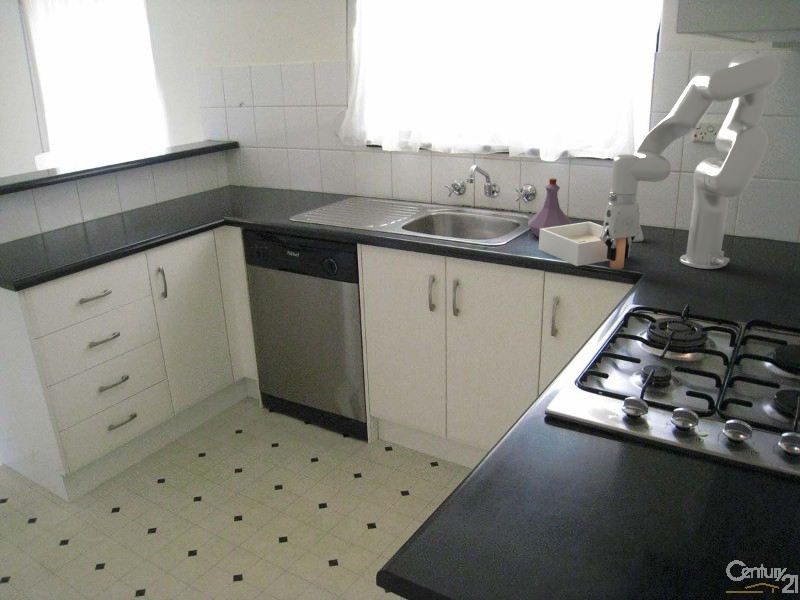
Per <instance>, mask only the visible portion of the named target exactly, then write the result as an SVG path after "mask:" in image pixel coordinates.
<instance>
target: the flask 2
mask: <svg viewBox="0 0 800 600" xmlns="http://www.w3.org/2000/svg"><path fill="white" fill-rule="evenodd" d="M641 212H642V211H641V210H639V213H640V214H641ZM644 240H645V238H644V234H643V231H642V227H641V223H640V221H639V234H638V235H637V236H636V237H635V238H634V240H633V241H632V243H633V242H635V243H636V242H643V241H644Z"/></svg>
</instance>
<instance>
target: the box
mask: <svg viewBox="0 0 800 600" xmlns="http://www.w3.org/2000/svg"><path fill="white" fill-rule="evenodd" d="M602 232H603V225H600V224H598V223H594V222H592V221H584V222H577V223H576V222H575V223H572V224H569V225H562V226H555V227H549V228H542V229H540V232H539V237H538V250H539V251H541V252H543V253H545V254H548V255H550V256H552V257H554V258H558V260H559V259H560V260H561V261H564V262H566V263H568V264H571V265H573V266H575V267H580V266H585V265H586V266H587V265H590V264H592V265H593V264H597V263H602V262H608V261H609V262H610V260H609V259H607V249H608V246H606V244H605V243H604V242H603V241H602V240H600V239H599V237H600V236H601V234H602ZM607 238H608V236H607ZM611 242H612V239H611ZM630 249H631V245H630V246H629V251H630ZM629 257H630V254H629V255H628V258H629Z"/></svg>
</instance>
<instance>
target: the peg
mask: <svg viewBox="0 0 800 600" xmlns="http://www.w3.org/2000/svg"><path fill="white" fill-rule="evenodd" d="M625 247H626V238H620V239H617V241H616V245H615V248H616V260H615V261H612V260H609V268H611V269H614V270H622V269H624V265H625V258H624V257H625Z"/></svg>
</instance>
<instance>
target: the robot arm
mask: <svg viewBox="0 0 800 600" xmlns="http://www.w3.org/2000/svg"><path fill="white" fill-rule="evenodd" d="M781 72H782V65H781V62H780V61H779V59H778V58H777V57H775V56H774V55H771V54H765V53H763V54H762V53H761V54H760V53H744V54H743V53H742V54H740V55H739V54H738V55H736V56H735V57H733V58H732V59H731V61H729V64H728V66H727V67H724V68H719V67H706V68H702V69H700V70H698V71H697V72H696V73H695V74H694V76H693V77H692V78H691V79H690V81H689V83H688V84H687V85H686V87H685V89H684V91H683V92H682V94H681V95H680V96H679V98H678V99H677V101H676V102H675V104H674V105H673V107H672V109H671V110H670V111H669V113H668V114H667V115H666V117H664V118H663V119H662V120H661V121H660V122H658V124H657V125H656V126H654V127H653V128H652V129H651V130H650V131H648V133H646V135H645V136H644V138H643V139H642V140H641V142H640V144H639V145H638V147H637V149H636V150H635V151H634V152H633V153H634V154H617V155H616V156H614V158H613V160H612V170H611V178H610V179H611V180H610V181H611V182H610V192H609V195H608V197H607V200H608V202H607V206H606V208H605V213H604V219H603V225H602V226H603V232H602V234H601V236H600V237H599V239H600V240H602V241H603V242H604V243H605V244H606V246H608V249H607V259H609V261H610V260H612V261H615V260H616V248H615V245H616V241H617V239H620V238H626V247H625V257H624V260H626V259H629V257H628V255H629V256H630V250H629V246H630V247H631V245H632V243H633V242H632V241H633V240H634V238H635V237H636V236H637V235H638V234H639V222H640V219H641V218H640V215H641V212H640V213H639V211H640V205H639V202H638V191H639V183H640V182H647V183H648V182H650V183H658V182H663V181H664V180H666V179H667V178H668V177H669V176H670V174H671V172H672V165H671V163H670V160H669V159H668V158H666V157H665V156H663V155H662V154H663V153H664V152H665V150H666V149H668V147H669V146H670V145H671V144H673V142H674V141H676V140H678V139H680V138H682V137H685V136H688V135H689V134H690V133H692V132H694V131H695V130H696V129H697V128H698V127H699V125H700V124H701V122H702V121H703V119H704V117H705V116H706V114H708V111H709V110H710V108H711V107H712V106H713V104H714V103H715V102H717V103H723V102H728V101H731V100H732V103H731V106H730V108H729V111H728V112H727V114H726V116H725V118H724V120H723V121H722V122H723V123H722V124H721V126H720V128H719V130H718V132H717V134H716V137H715V140H714V144H715V145H714V146H715V148H716V149H717V150H718V152H720V153H722V154H723V155H726V158H721V157H717V156H713V157H707V158H704V159H703V160H701V161H700V162H699V163H698V164H697V166H696V167H695V169H694V172H693V177H692V178H693V202H692V209H691V215H690V224H689V229H688V238H687V239H688V240H687V245H686V253H685V254H683V255H681V256H680V257H679V262H680V263H681V264H683V266H687V267H691V268H696V269H704V270H714V269H715V270H716V269H720V268H724V267H725V266H728V263H730V261H731V259H730V258H729V257H726V256H724V255H725V251H724V250H722V248H723V241H724V237H725V236H724V235H725V229H726V222H727V216H728V210H729V198H734V197H737V196H739V195H741V194H743V192H744V191H745V190H746V189H747V188H748V186H749V185H750V184H751V181H752V179H753V178H754V175H755V173H756V171H757V170H758V168H759V166H760V165H761V164H760V163H761V162H762V161H763V158H764V156H765V154H766V152H767V149H768V145H769V137H768V134H767V131H766V130H765V129H764V128H763V127H761V126H760V125H759V122H760V121H761V119H762V116H763V114H764V112H765V110H766V106H767V102H768V100H767V99H768V98H767V97H768V96H767V89H766V88H768V87H771V86H772V85H773V84H775V82H776V81H777V80H778V79H779V77H780V74H781ZM607 236H608V238H607ZM611 239H612V242H611Z"/></svg>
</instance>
